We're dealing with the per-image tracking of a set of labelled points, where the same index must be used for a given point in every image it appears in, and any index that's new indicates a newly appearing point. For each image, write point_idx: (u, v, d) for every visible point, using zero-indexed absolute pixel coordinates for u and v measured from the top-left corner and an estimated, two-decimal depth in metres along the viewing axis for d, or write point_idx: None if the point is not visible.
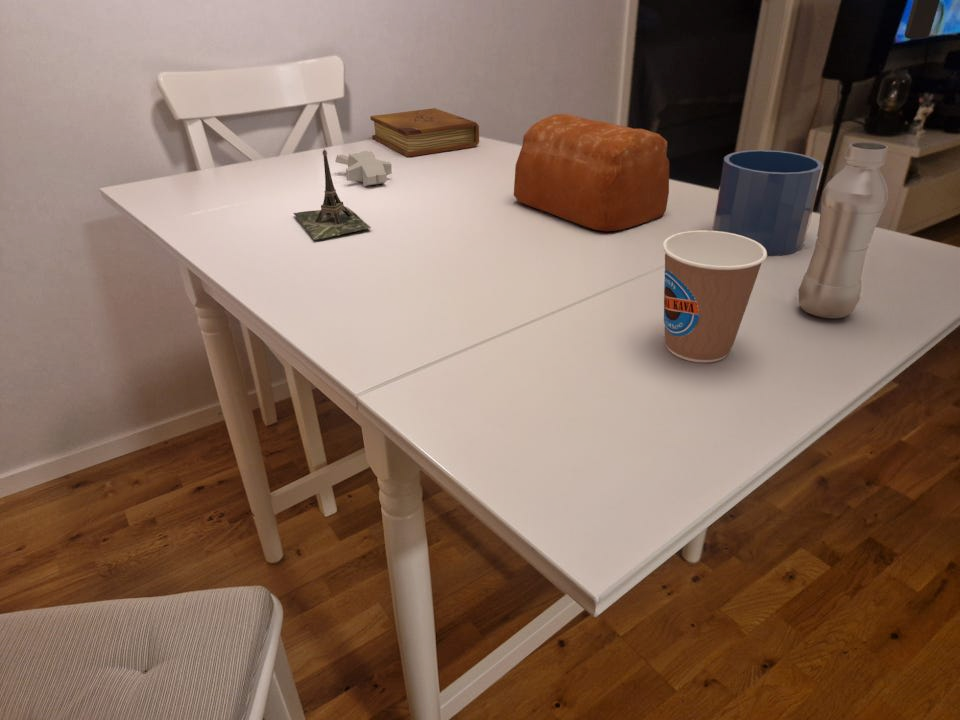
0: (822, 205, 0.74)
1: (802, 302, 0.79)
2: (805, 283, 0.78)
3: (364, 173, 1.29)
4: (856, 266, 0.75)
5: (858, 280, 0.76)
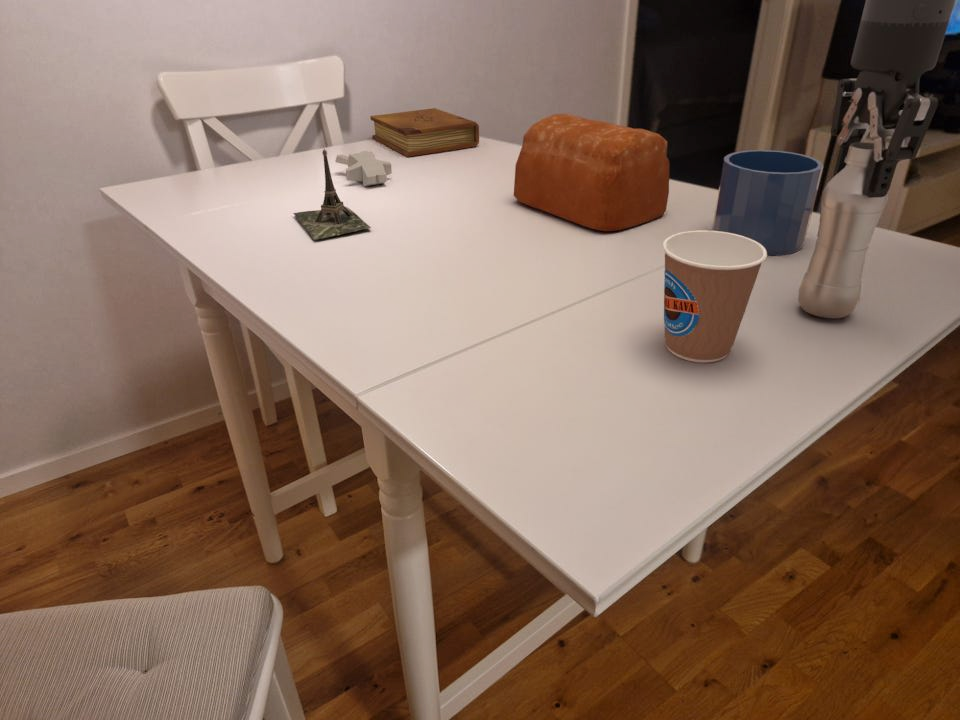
0: (822, 205, 0.74)
1: (802, 302, 0.79)
2: (805, 283, 0.78)
3: (364, 173, 1.29)
4: (856, 266, 0.75)
5: (858, 280, 0.76)
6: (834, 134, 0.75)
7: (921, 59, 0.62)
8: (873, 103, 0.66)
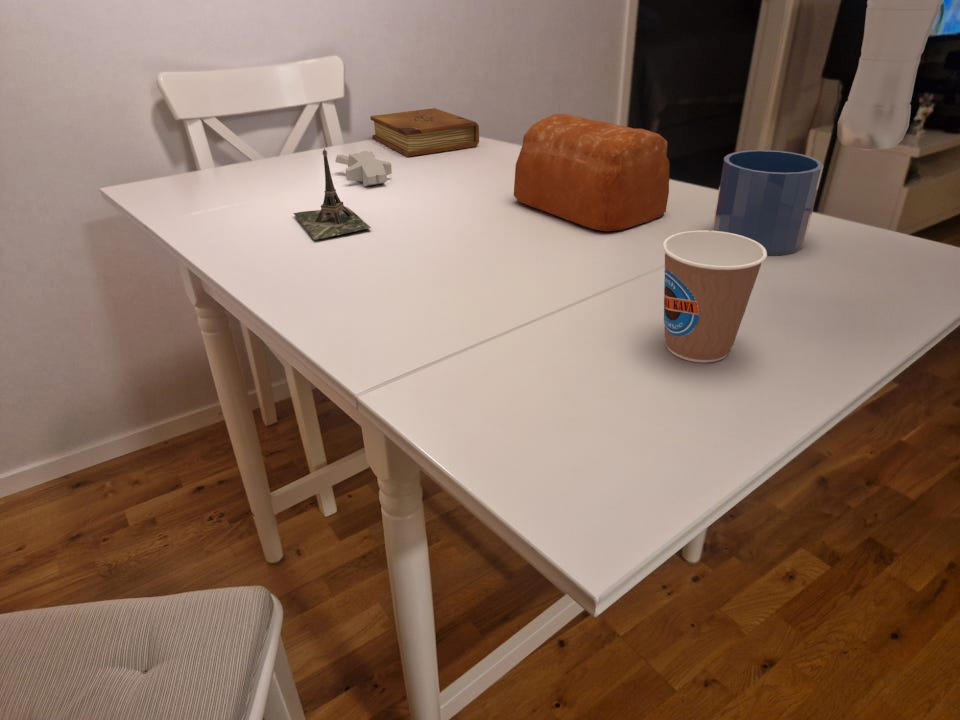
0: (868, 9, 0.65)
1: (842, 134, 0.70)
2: (847, 111, 0.69)
3: (364, 173, 1.29)
4: (906, 82, 0.65)
5: (908, 101, 0.67)
6: None
7: None
8: None
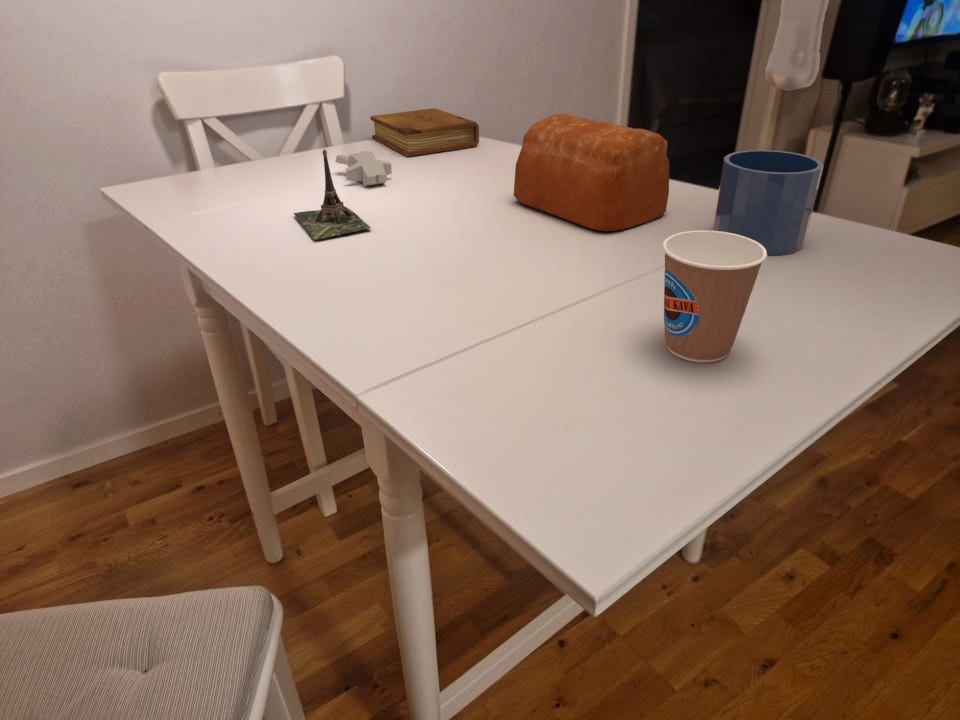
0: None
1: (768, 77, 0.89)
2: (771, 58, 0.88)
3: (364, 173, 1.29)
4: (814, 33, 0.85)
5: (816, 49, 0.86)
6: None
7: None
8: None
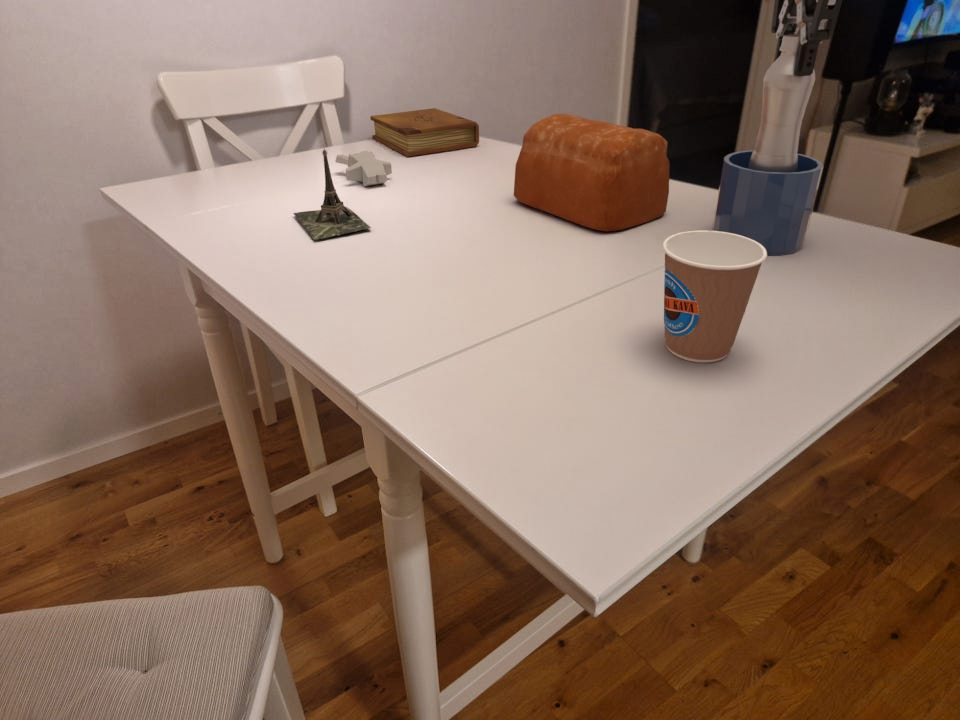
0: (763, 88, 0.91)
1: None
2: (753, 158, 0.95)
3: (364, 173, 1.29)
4: (791, 139, 0.92)
5: (794, 152, 0.93)
6: (773, 31, 0.92)
7: None
8: None
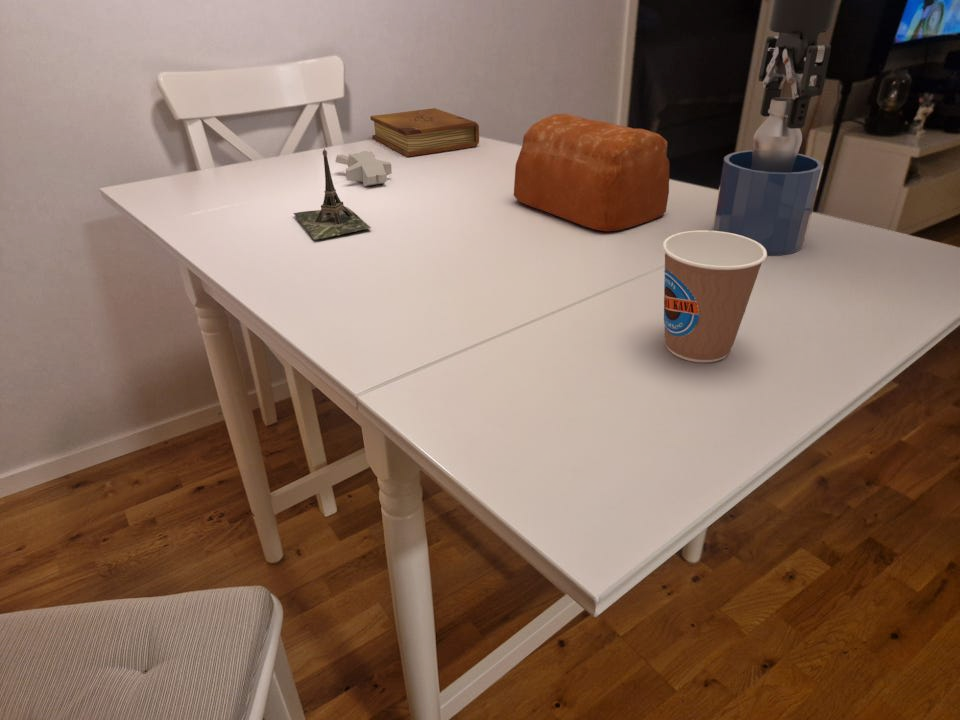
0: (753, 147, 0.95)
1: None
2: None
3: (364, 173, 1.29)
4: None
5: None
6: (760, 80, 0.96)
7: (818, 22, 0.83)
8: (785, 57, 0.87)
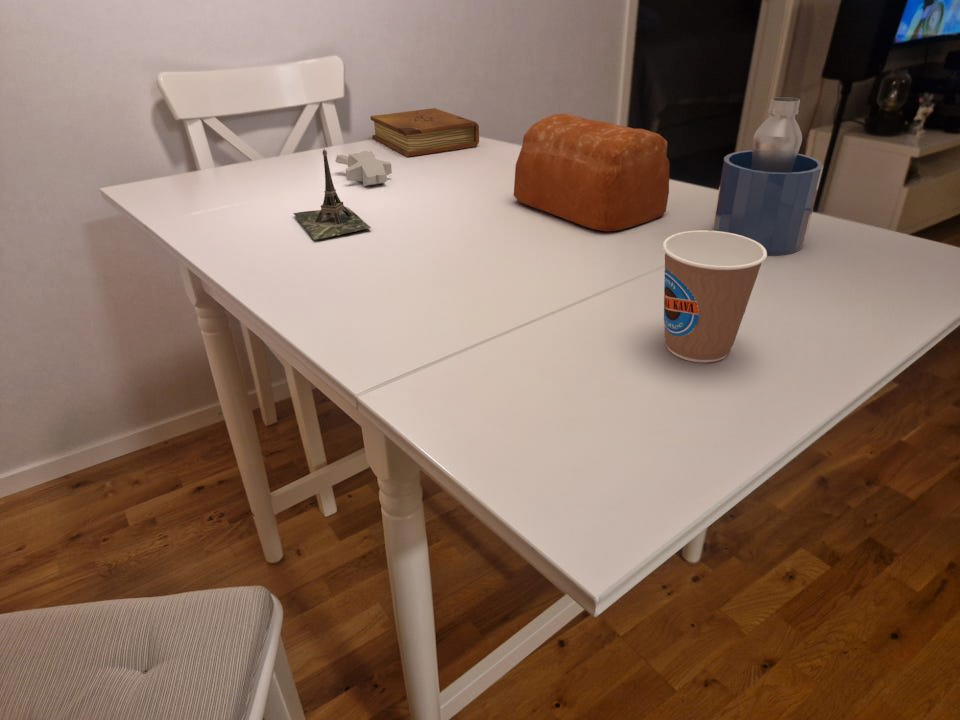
0: (753, 147, 0.95)
1: None
2: None
3: (364, 173, 1.29)
4: None
5: None
6: None
7: None
8: None
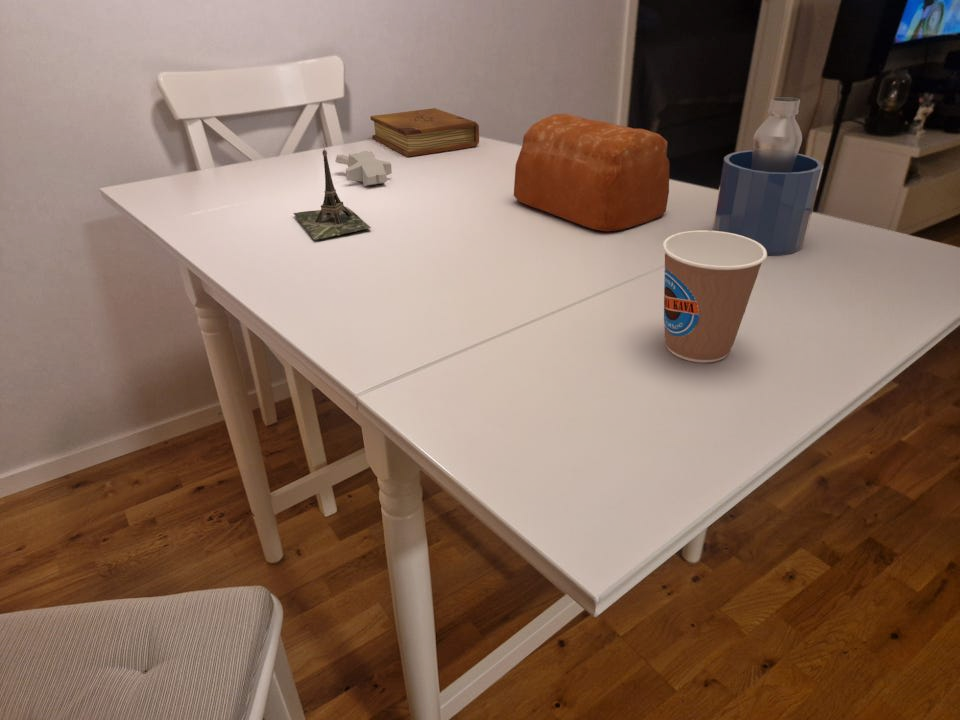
0: (753, 147, 0.95)
1: None
2: None
3: (364, 173, 1.29)
4: None
5: None
6: None
7: None
8: None
